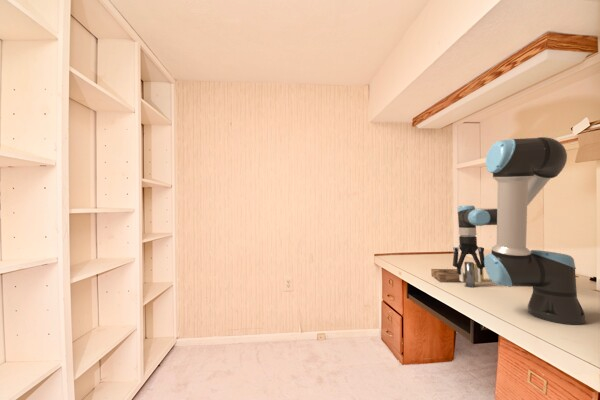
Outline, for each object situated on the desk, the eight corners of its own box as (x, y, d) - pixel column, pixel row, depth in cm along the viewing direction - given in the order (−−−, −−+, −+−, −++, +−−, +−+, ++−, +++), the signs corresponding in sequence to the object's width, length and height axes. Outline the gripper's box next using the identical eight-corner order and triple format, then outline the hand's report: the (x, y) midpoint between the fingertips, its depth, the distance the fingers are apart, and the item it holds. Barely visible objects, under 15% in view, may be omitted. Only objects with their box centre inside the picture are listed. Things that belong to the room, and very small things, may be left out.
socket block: (468, 282, 141) (467, 275, 141) (439, 282, 143) (439, 274, 143) (457, 276, 154) (456, 269, 155) (431, 275, 157) (431, 268, 157)
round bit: (476, 287, 132) (475, 263, 132) (467, 287, 132) (466, 263, 133) (472, 285, 136) (471, 261, 136) (464, 285, 136) (463, 261, 137)
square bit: (483, 282, 140) (482, 265, 141) (475, 282, 141) (474, 265, 141) (480, 280, 144) (479, 263, 145) (472, 280, 145) (471, 263, 145)
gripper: (485, 234, 137) (487, 279, 136) (443, 235, 140) (445, 278, 140) (493, 236, 130) (496, 283, 129) (449, 236, 133) (451, 282, 132)
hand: (470, 281), depth 134 cm, fingers open, 7 cm apart
